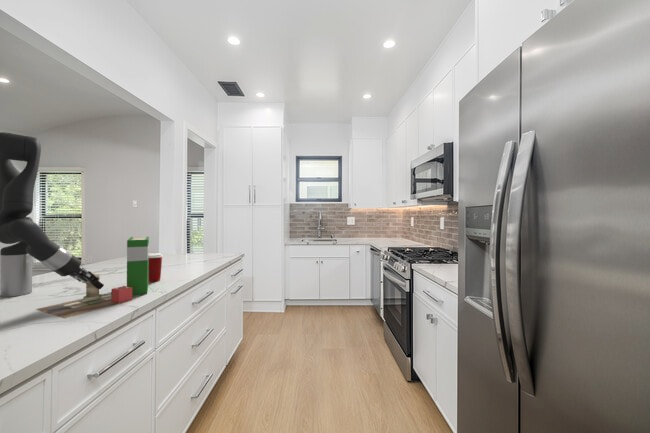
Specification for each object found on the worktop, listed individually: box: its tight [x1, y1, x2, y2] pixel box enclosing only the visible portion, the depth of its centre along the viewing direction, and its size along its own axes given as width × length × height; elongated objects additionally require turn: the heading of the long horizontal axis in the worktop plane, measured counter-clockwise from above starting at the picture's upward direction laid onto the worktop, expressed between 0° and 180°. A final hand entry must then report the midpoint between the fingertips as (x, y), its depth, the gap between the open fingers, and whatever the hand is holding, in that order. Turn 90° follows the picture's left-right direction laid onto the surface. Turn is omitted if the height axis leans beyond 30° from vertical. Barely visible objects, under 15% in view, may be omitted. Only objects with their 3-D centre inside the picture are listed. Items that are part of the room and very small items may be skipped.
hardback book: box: [126, 236, 150, 297], centre depth 129 cm, size 18×7×24 cm, turn 31°
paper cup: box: [148, 252, 164, 283], centre depth 147 cm, size 8×8×14 cm
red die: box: [110, 285, 133, 304], centre depth 113 cm, size 5×5×5 cm
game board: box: [35, 293, 133, 319], centre depth 108 cm, size 20×22×1 cm
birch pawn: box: [82, 273, 102, 300], centre depth 112 cm, size 6×6×10 cm
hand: (98, 286), depth 114 cm, fingers closed on birch pawn, 4 cm apart
